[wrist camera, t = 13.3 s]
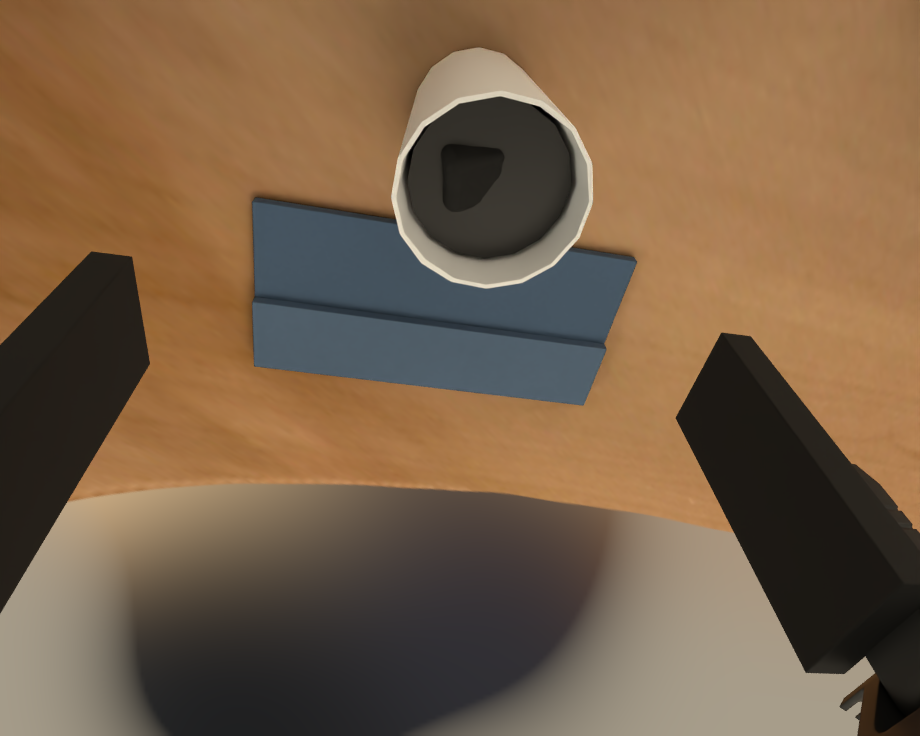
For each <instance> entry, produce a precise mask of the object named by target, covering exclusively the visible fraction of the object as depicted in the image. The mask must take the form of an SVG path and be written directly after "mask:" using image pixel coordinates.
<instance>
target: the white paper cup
mask: <svg viewBox="0 0 920 736" xmlns="http://www.w3.org/2000/svg"><path fill="white" fill-rule="evenodd" d="M391 199H392V203H393V207H394V212H395V216H396V220H397V224H398V229H399V233H400V235H401V236H402V238H403V239H404V240H405V242H406V243H407V245H408V246H409V247H410V249H411V250H412V251H413V253H414V254H415V255H416V257H417V258H418V260H419V261H420V262H421V263H422V264H423V265H425V266H427V267H428V268H430V269H431V270H433V271H435V272H436V273H438V274H439V275H441V276H443V277H444V278H446V279H447V280H449V281H451V282H455V283H460V284H465V285H470V286H475V287H480V288H485V289H487V288H494V287H500V286H506V285H513V284H519V283H523V282H525V281H527V280H528V279H530V278H532V277H534V276H536V275H538V274H540V273H541V272H543V271H545V270H547V269H549V268H551V267H553V266H554V265H555V264H556V263H557V262H558V261H559V260H560V259H561V258H562V256H563V255H564V254H565V253H566V252H567V251H568V250H569V249H570V248H571V246H572V245H573V244H574V243H575V242H576V241H577V240H578V239H579V237H580V234H581V232H582V229H583V227H584V224H585V222H586V219H587V217H588V214H589V211H590V209H591V206H592V204H593V176H592V162H591V160H590V158H589V156H588V153H587V151H586V149H585V147H584V145H583V143H582V141H581V139H580V136H579V134H578V132H577V130H576V128H575V127H574V126H573V124H572V123H571V122H570V121H569V120H568V119H567V118H566V117H565V116H564V114H563V113H562V112H561V111H560V110H559V109H558V108H557V107H556V106H555V105H554V103H553V102H552V101H551V100H550V99H549V98H548V97H547V96H546V95H545V93H544V92H543V91H542V90H541V89H540V88H539V87H538V86H537V85H536V83H535V82H534V81H533V80H532V79H531V78H530V77H529V76H528V75H527V74H526V72H525V71H524V70H523V69H522V68H520V67H519V66H518V65H517V64H516V63H514V62H513V61H512V60H511V59H510V58H509V57H507V56H506V55H505V54H503V53H499V52H495V51H492V50H488V49H484V48H480V47H478V48H472V49H467V50H461V51H456V52H453V53H451V54H450V55H448V56H447V57H445V58H444V59H443V60H441V61H440V62H438V63H437V64H435V65H434V66H432V67H431V69H430V71H429V72H428V74H427V75H426V77H425V78H424V80H423V82H422V83H421V85H420V86H419V88H418V90H417V94H416V97H415V101H414V104H413V108H412V111H411V115H410V118H409V122H408V125H407V128H406V132H405V135H404V139H403V142H402V146H401V149H400V153H399V156H398V161H397V167H396V172H395V178H394V184H393V189H392V195H391Z"/></svg>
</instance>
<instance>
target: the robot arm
mask: <svg viewBox="0 0 920 736" xmlns="http://www.w3.org/2000/svg"><path fill="white" fill-rule="evenodd" d="M149 364H150V361H149V355H148V349H147V343H146V337H145V331H144V326H143V320H142V314H141V308H140V302H139V296H138V290H137V284H136V278H135V272H134V266H133V260H132V257H130V256H122V255H114V254H107V253H99V252H90V253H89V255H88V256H87V257H86V258H85V259H84V260H83V261H82V262H81V263H80V264H79V265H78V266H77V267H76V268H75V269H74V270H73V271H72V272H71V273H70V274H69V275H68V276H67V277H66V278H65V279H64V280H63V281H62V282H61V283H60V284H59V285H58V286H57V287H56V288H55V289H54V290H53V291H52V292H51V294H50V295H49V296H48V297H47V298H46V299H45V300H44V301H43V302H42V303H41V304H40V305H39V306H38V307H37V308H36V309H35V310H34V311H33V312H32V313H31V314H30V315H29V316H28V317H27V318H26V319H25V320H24V321H23V322H22V323H21V324H20V325H19V326H18V327H17V328H16V329H15V330H14V332H13V333H12V334H11V335H10V336H9V337H8V338H7V339H6V340H5V341H4V342H3V343H2V344H1V345H0V613H1V611H2V610H3V608H4V606H5V605H6V603H7V601H8V600H9V598H10V596H11V595H12V593H13V591H14V590H15V588H16V586H17V585H18V583H19V581H20V580H21V578H22V576H23V574H24V573H25V571H26V570H27V568H28V566H29V565H30V563H31V561H32V560H33V558H34V556H35V555H36V553H37V551H38V550H39V548H40V546H41V544H42V543H43V541H44V540H45V538H46V536H47V535H48V533H49V531H50V529H51V528H52V526H53V525H54V523H55V521H56V519H57V518H58V516H59V515H60V513H61V511H62V509H63V508H64V506H65V505H66V503H67V501H68V500H69V498H70V496H71V495H72V493H73V491H74V490H75V488H76V486H77V485H78V483H79V481H80V480H81V478H82V476H83V475H84V473H85V471H86V470H87V468H88V466H89V465H90V463H91V461H92V460H93V458H94V456H95V455H96V453H97V451H98V450H99V448H100V446H101V445H102V443H103V441H104V440H105V438H106V436H107V435H108V433H109V431H110V430H111V428H112V426H113V425H114V423H115V421H116V420H117V418H118V416H119V415H120V413H121V411H122V410H123V408H124V406H125V405H126V403H127V401H128V400H129V398H130V396H131V395H132V393H133V391H134V390H135V388H136V386H137V385H138V383H139V381H140V379H141V378H142V376H143V374H144V373H145V371H146V369H147V368H148V366H149ZM676 420H677V422H678V424H679V426H680V428H681V430H682V432H683V433H684V435H685V437H686V439H687V441H688V443H689V445H690V447H691V449H692V451H693V453H694V455H695V457H696V459H697V461H698V463H699V465H700V467H701V469H702V471H703V473H704V475H705V476H706V478H707V480H708V482H709V484H710V486H711V488H712V490H713V492H714V494H715V496H716V498H717V500H718V502H719V504H720V506H721V508H722V510H723V512H724V514H725V516H726V518H727V520H728V521H729V523H730V525H731V527H732V529H733V531H734V533H735V535H736V537H737V539H738V541H739V543H740V545H741V547H742V549H743V551H744V553H745V555H746V557H747V559H748V560H749V563H750V564H751V566H752V568H753V570H754V572H755V574H756V576H757V578H758V580H759V582H760V584H761V586H762V588H763V590H764V592H765V594H766V596H767V598H768V600H769V602H770V604H771V606H772V607H773V609H774V611H775V613H776V615H777V617H778V619H779V621H780V623H781V625H782V627H783V629H784V631H785V633H786V635H787V637H788V639H789V641H790V643H791V644H792V647H793V648H794V651H795V652H796V654H797V656H798V658H799V660H800V662H801V664H802V666H803V668H804V670H805V672H806V673H829V674H845V673H846V672H847V671H848V670H850V669H851V668H852V667H853V666H854V665H856V664H857V663H858V662H859V661H860V660H861V659H863V658H864V657H865V656H866V658H867V660H868V661H869V663H870V665H871V666H872V668H873V670H874V671H875V674H874V675H873V676H871V677H870V678H869V679H867V680H866V681H865V682H864V683H862V684H861V685H860V686H859V687H858V688H856V689H855V690H854V691H852V692H851V693H850V694H849V695H847V696H846V697H845V698H844V699H843V701H842V703H841V705H840V708H842V709H843V710H845V711H847V710H848V709H849V708H851V707H852V706H853V705H855V704H856V703H857V702H860V701H861V702H862V707H861V713H859V714H858V715H857V716H856V718H857V719H858V720H860V721H859V728H858V736H920V533H919V532H918V531H917V529H913V528H912V523H911V522H910V521H909V520H908V518H907V517H906V516H905V515H904V513H903V512H902V511H898V509H897V508H898V506H897V505H896V504H895V502H894V501H893V500H892V499H891V497H890V496H889V495H888V494H887V492H886V491H885V490H884V489H883V488H882V486H881V485H880V484H879V483H878V482H876V481H875V480H874V479H873V478H871V477H870V476H869V475H868V474H867V473H865V472H864V471H863V470H862V469H861V468H859V467H858V466H857V465H856V464H851V463H850V462H849V460H848V459H847V458H846V457H845V455H844V454H843V453H842V451H841V450H840V449H839V448H838V446H837V445H836V444H835V443H834V441H833V440H832V439H831V438H830V436H829V435H828V434H827V432H826V431H825V430H824V429H823V427H822V426H821V425H820V424H819V422H818V421H817V420H816V419H815V417H814V416H813V415H812V413H811V412H810V411H809V410H808V408H807V407H806V406H805V405H804V403H803V402H802V401H801V400H800V398H799V397H798V396H797V394H796V393H795V392H794V391H793V389H792V388H791V387H790V386H789V384H788V383H787V382H786V380H785V379H784V378H783V377H782V375H781V374H780V373H779V372H778V370H777V369H776V368H775V367H774V365H773V364H772V363H771V361H770V360H769V359H768V358H767V356H766V355H765V354H764V353H763V351H762V350H761V349H760V348H759V346H758V345H757V344H756V342H755V341H754V340H753V339H752V337H751V336H744V335H736V334H728V333H721V334H720V336H719V338H718V340H717V342H716V344H715V346H714V347H713V349H712V351H711V353H710V355H709V357H708V359H707V361H706V362H705V364H704V366H703V368H702V370H701V372H700V374H699V375H698V377H697V379H696V381H695V383H694V385H693V387H692V388H691V390H690V392H689V394H688V396H687V398H686V400H685V401H684V403H683V405H682V407H681V409H680V411H679V413H678V414H677V416H676Z"/></svg>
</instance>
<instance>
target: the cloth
mask: <svg viewBox="0 0 920 736" xmlns="http://www.w3.org/2000/svg"><path fill="white" fill-rule="evenodd" d="M252 211H253V247H254V283H255V297H254V299H253V302H252V313H253V345H254V366H255V367H264V368H272V369H281V370H289V371H297V372H306V373H314V374H323V375H331V376H340V377H348V378H356V379H365V380H373V381H382V382H390V383H398V384H407V385H415V386H424V387H432V388H440V389H449V390H457V391H466V392H474V393H482V394H491V395H499V396H508V397H516V398H524V399H533V400H541V401H550V402H558V403H567V404H575V405H584V403H585V401H586V398H587V396H588V393H589V391H590V389H591V386H592V384H593V381H594V379H595V376H596V374H597V372H598V369H599V367H600V364H601V362H602V359H603V357H604V355H605V352H606V347H605V344H604V343H605V340H606V338H607V335H608V333H609V330H610V328H611V325H612V323H613V320H614V318H615V315H616V313H617V311H618V308H619V306H620V303H621V301H622V298H623V296H624V293H625V291H626V288H627V286H628V283H629V281H630V278H631V276H632V273H633V271H634V269H635V266H636V264H637V261H636V259H635V258H634V257H630V256H623V255H617V254H611V253H604V252H598V251H592V250H586V249H579V248H573V247H571V248H570V249H569V250H568V251H567V252H566V253H565V254H564V255H563V256H562V258H561V259H560V260H559V261H558V262H557V263H556V264H555V265H554V266H553V267H551V268H549V269H547V270H545V271H543V272H541V273H540V274H538V275H536V276H534V277H532V278H530V279H528V280H527V281H525V282H523V283H519V284H513V285H506V286H500V287H494V288H487V289H485V288H480V287H475V286H470V285H465V284H460V283H455V282H451V281H449V280H447V279H446V278H444V277H443V276H441V275H439V274H438V273H436V272H435V271H433V270H431V269H430V268H428V267H427V266H425V265H423V264H422V263H421V262H420V261H419V260H418V258H417V257H416V255H415V254H414V253H413V251H412V250H411V249H410V247H409V246H408V245H407V243H406V242H405V240H404V239H403V238H402V236H401V235H400V233H399V229H398V224H397V220H396V219H390V218H383V217H377V216H371V215H364V214H358V213H352V212H345V211H339V210H333V209H326V208H320V207H314V206H307V205H301V204H295V203H288V202H282V201H276V200H270V199H263V198H257V197H255V198H254V200H253V202H252Z"/></svg>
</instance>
